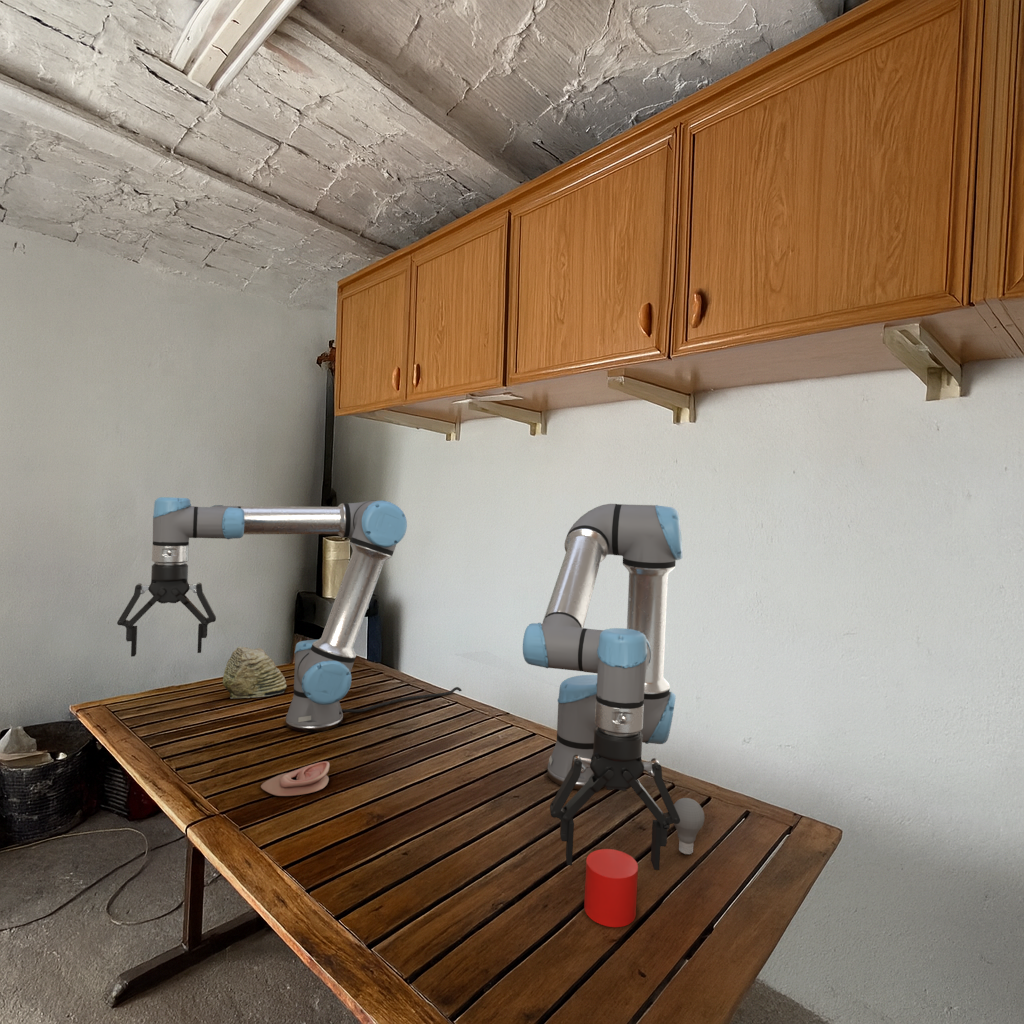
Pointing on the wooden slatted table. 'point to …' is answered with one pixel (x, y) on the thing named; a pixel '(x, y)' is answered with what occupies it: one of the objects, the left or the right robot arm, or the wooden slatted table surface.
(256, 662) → the fossil
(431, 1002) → the wooden slatted table surface
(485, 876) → the wooden slatted table surface
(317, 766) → the anatomical model
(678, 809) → the light bulb
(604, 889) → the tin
